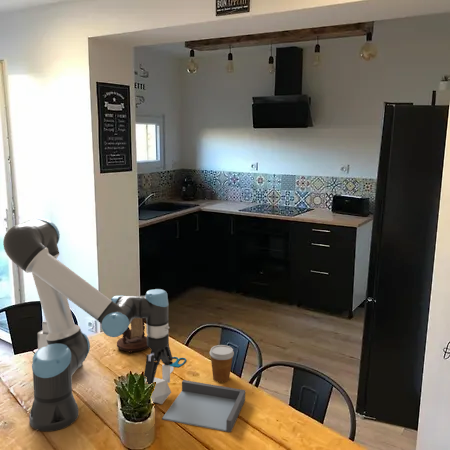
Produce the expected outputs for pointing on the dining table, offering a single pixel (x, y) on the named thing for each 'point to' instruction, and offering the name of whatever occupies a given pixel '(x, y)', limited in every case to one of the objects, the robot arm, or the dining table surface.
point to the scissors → (176, 363)
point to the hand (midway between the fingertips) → (158, 391)
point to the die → (161, 390)
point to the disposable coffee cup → (221, 362)
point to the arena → (206, 406)
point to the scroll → (134, 337)
